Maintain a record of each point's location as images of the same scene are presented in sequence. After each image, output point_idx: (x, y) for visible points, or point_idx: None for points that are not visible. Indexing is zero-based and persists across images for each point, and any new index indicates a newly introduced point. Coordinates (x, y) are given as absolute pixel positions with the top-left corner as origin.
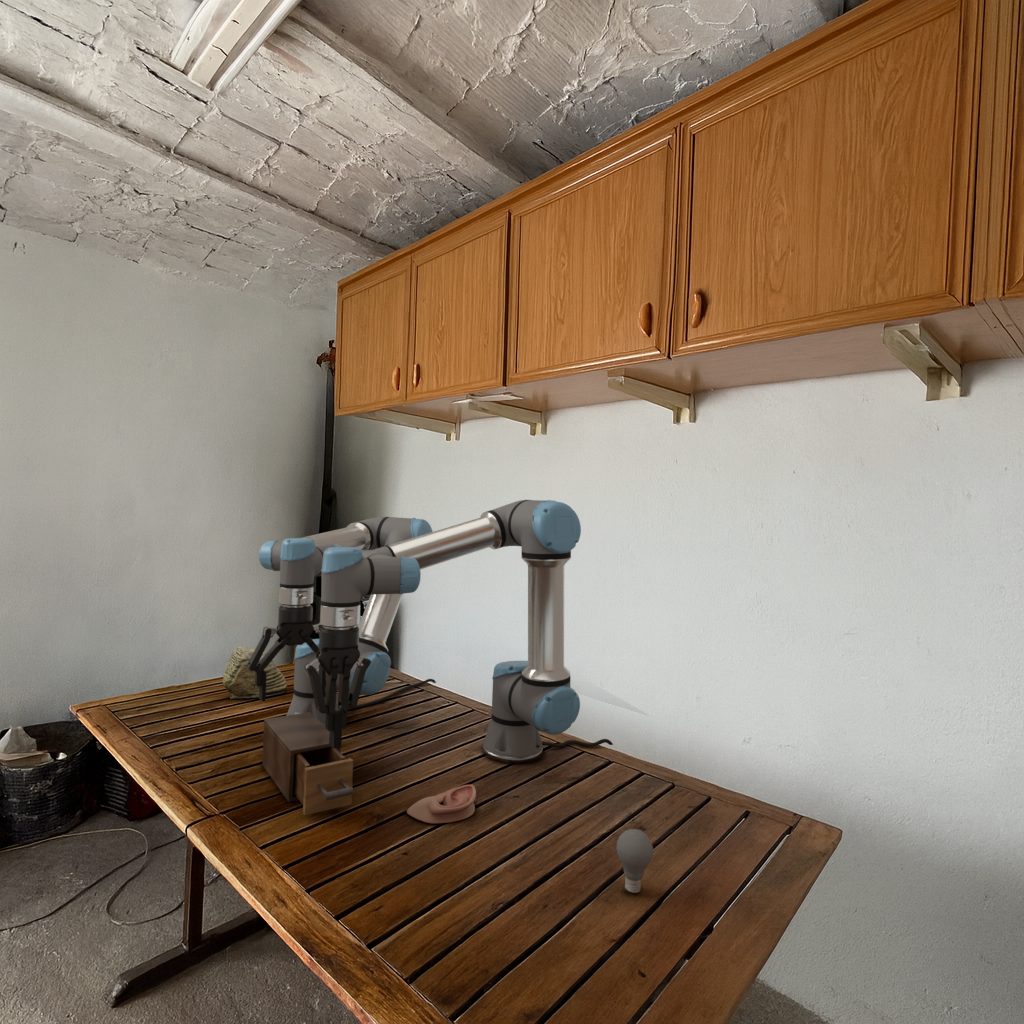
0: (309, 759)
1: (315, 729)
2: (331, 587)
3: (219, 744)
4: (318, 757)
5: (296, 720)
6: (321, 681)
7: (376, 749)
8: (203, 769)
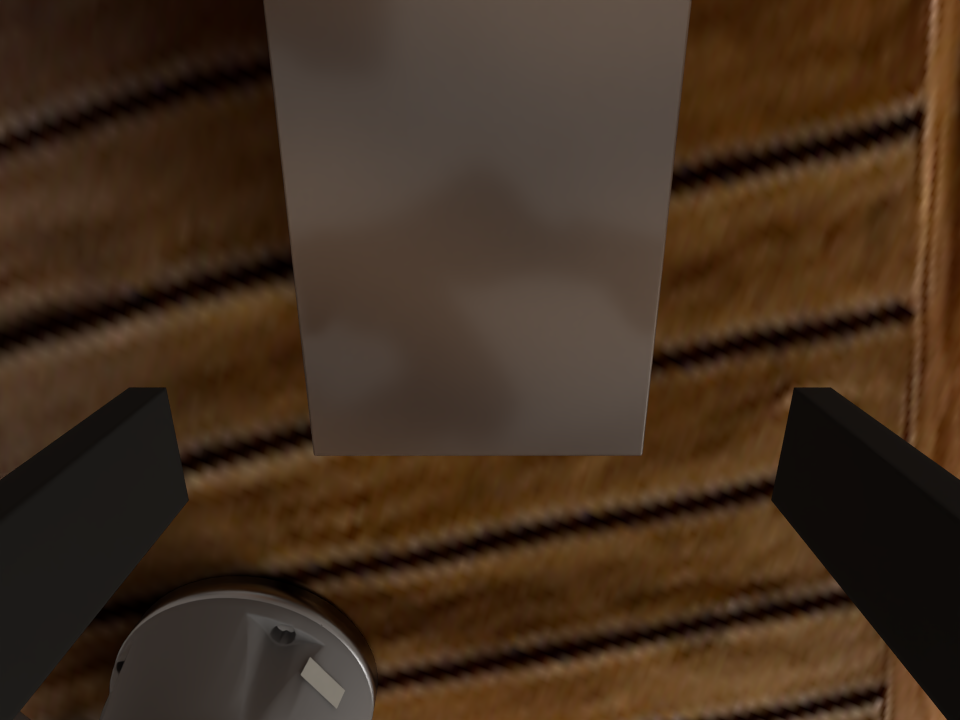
0: None
1: (366, 47)
2: None
3: (666, 623)
4: None
5: (449, 329)
6: (91, 476)
7: (27, 264)
8: None
